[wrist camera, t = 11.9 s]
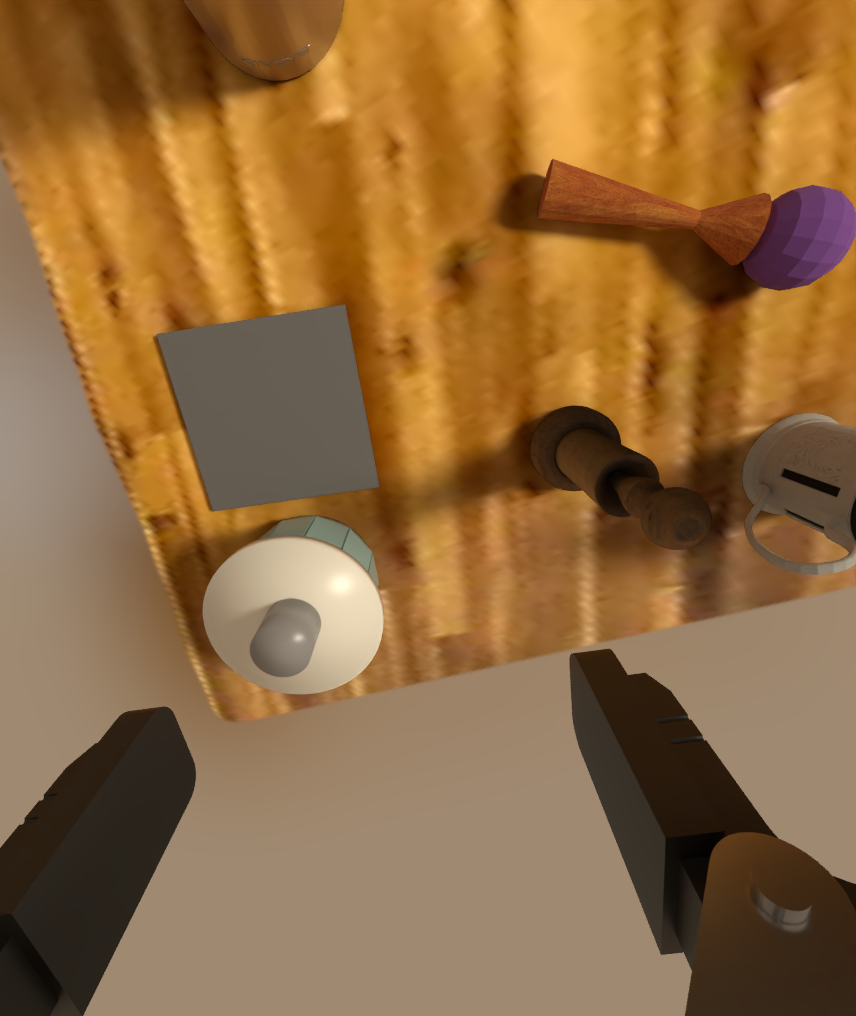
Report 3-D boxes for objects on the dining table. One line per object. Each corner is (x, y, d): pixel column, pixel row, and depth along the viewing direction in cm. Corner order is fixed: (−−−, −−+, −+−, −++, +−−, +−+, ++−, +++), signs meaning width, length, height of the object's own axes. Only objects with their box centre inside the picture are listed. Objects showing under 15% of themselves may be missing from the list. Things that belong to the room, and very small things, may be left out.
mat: (159, 334, 35) (156, 334, 34) (345, 305, 34) (344, 304, 34) (215, 509, 40) (213, 511, 39) (379, 485, 39) (378, 487, 39)
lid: (184, 549, 33) (150, 580, 29) (365, 522, 33) (357, 549, 28) (237, 695, 38) (214, 740, 33) (397, 673, 37) (394, 715, 33)
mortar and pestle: (552, 498, 40) (652, 615, 23) (515, 435, 38) (593, 511, 21) (623, 456, 39) (783, 546, 22) (588, 388, 37) (733, 430, 20)
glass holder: (850, 496, 40) (1082, 580, 26) (685, 545, 42) (822, 651, 28) (846, 397, 37) (1105, 432, 23) (670, 454, 39) (814, 520, 25)
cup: (238, 523, 40) (202, 559, 33) (365, 504, 40) (354, 537, 33) (271, 631, 44) (244, 683, 37) (387, 615, 43) (382, 665, 37)
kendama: (567, 109, 28) (897, 176, 28) (544, 167, 34) (817, 222, 34) (544, 216, 29) (864, 280, 29) (526, 254, 34) (791, 308, 35)
